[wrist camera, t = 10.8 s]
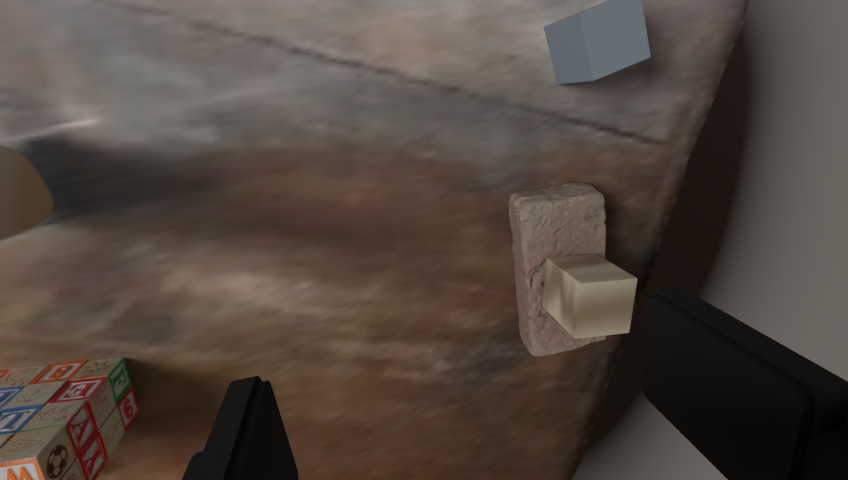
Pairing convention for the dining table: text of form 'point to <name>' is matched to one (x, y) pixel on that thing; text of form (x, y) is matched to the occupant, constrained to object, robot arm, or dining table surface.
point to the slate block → (598, 41)
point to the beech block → (589, 295)
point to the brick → (551, 254)
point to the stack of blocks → (63, 418)
